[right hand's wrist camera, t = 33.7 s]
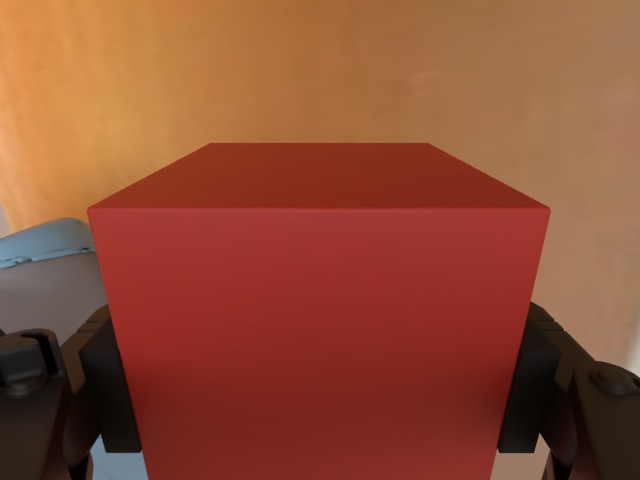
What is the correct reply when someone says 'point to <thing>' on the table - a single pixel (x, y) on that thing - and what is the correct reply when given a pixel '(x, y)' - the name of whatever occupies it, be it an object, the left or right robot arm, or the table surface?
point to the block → (319, 310)
